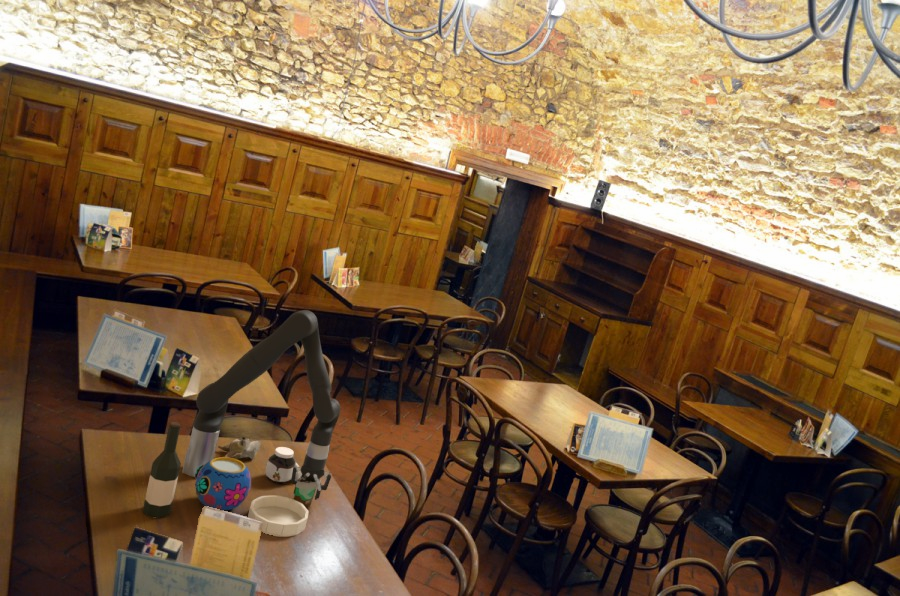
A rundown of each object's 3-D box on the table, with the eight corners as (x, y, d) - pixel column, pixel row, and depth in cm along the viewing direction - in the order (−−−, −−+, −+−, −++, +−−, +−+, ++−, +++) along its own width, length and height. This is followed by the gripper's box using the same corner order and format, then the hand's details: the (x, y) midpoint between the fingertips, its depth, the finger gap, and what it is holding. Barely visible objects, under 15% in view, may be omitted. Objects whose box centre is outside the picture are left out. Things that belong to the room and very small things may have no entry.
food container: (306, 513, 253) (313, 487, 252) (290, 507, 254) (296, 481, 253) (319, 500, 265) (325, 474, 264) (303, 494, 266) (310, 469, 265)
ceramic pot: (188, 491, 247) (197, 450, 245) (241, 494, 255) (250, 454, 252) (192, 518, 231) (202, 475, 229) (248, 520, 239) (258, 478, 237)
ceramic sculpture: (265, 442, 280) (225, 443, 273) (261, 463, 282) (222, 464, 274) (258, 431, 289) (219, 431, 282) (254, 451, 291) (216, 452, 283)
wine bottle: (176, 511, 233) (195, 424, 228) (158, 521, 225) (177, 431, 220) (155, 502, 235) (173, 415, 230) (136, 511, 227) (155, 421, 222)
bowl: (243, 530, 232) (246, 517, 232) (253, 502, 251) (255, 491, 250) (302, 541, 235) (305, 529, 234) (307, 513, 254) (310, 501, 253)
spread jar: (260, 477, 271) (267, 448, 269) (278, 469, 281) (284, 441, 279) (287, 489, 267) (294, 460, 265) (304, 480, 277) (311, 452, 276)
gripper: (295, 453, 252) (284, 497, 255) (336, 462, 254) (325, 505, 257) (297, 445, 259) (287, 488, 262) (337, 453, 262) (326, 496, 264)
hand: (306, 496), depth 259 cm, fingers open, 6 cm apart
